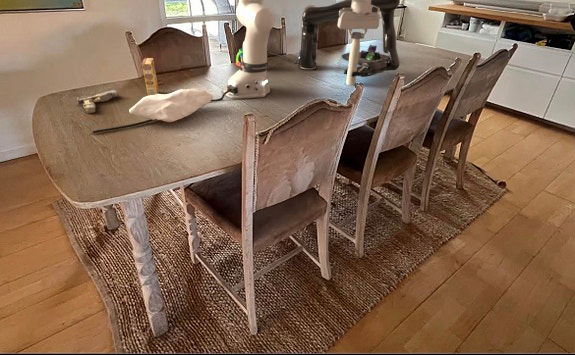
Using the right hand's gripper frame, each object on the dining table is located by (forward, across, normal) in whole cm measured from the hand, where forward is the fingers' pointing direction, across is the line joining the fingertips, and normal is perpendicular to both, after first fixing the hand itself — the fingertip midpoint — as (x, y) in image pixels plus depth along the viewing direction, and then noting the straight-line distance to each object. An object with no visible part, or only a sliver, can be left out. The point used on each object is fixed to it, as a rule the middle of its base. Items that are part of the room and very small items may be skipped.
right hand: (348, 73), depth 186 cm
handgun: (+110, -39, +6) cm, 117 cm away
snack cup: (+27, -51, +6) cm, 58 cm away
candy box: (+88, -38, +6) cm, 96 cm away
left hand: (-3, 0, -17) cm, 17 cm away
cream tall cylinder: (-3, 0, +6) cm, 7 cm away
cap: (-3, 0, -19) cm, 19 cm away
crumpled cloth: (+90, -13, +6) cm, 91 cm away
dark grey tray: (-50, -29, +6) cm, 58 cm away
